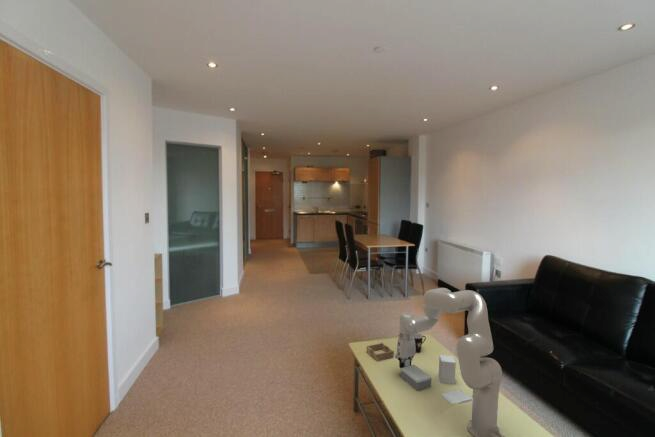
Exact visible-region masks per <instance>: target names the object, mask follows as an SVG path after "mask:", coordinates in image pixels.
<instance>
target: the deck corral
mask: <svg viewBox="0 0 655 437" xmlns="http://www.w3.org/2000/svg"><path fill="white" fill-rule="evenodd" d="M381 350H382V351H384V352H381V353H377V352H378V351H381ZM366 354H368V355H369V356H370V357H371V358H373V360H375V361H376V362H381V361H385V360H388V359H394V358H395V351H394V350H393V349H391V347H389V346H387V344H385V343H384V342H379V343H376V344H375V343H374V344H371V345H367V346H366Z"/></svg>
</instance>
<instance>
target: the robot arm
mask: <svg viewBox="0 0 655 437" xmlns="http://www.w3.org/2000/svg"><path fill="white" fill-rule="evenodd" d="M422 310H423V312H424V314H423V315H420V316H415V317H414V314H413V313H411V312H407V311H406V312H405V311H403V312H401V313H400V314H399V334H398V335H397V338H398V339H397V344H396V353H395V354H394V358H395V359H397V360H398V361H399V362H398V363H399V365H398V366H399V368H400V369H401V368H403V367H404V362H403V361H404V358H408V359H410V365H412V361H413V358H414V356H416V354H417V353H416V346H415V339H414V337H413V334H415V333H419V334H420V333H423V332H426V331H429V330H431V329H432V328H433V327H435V326H436V324H437V323H438V322H439V319H440V318H439V317H440V315H441V314H442V313H448V314H457V313H460V312H464V311H468V314H467V318H466V324H467V328H468V329H467V331H468V333H467V334H466V335H462V336H461V337H459V338H458V339H457V343H456V354H457V357H458V365H459V370H460V375H461V378H462V380H463V382H464V384H465V385H466V386H467V387H468V388H470V389H472V401H471V402H472V403H471V405H472V407H471V420H468V422H467V423H466V424H467V426H466V427H467V431H468V432H469V433H470V435H471V436H472V437H505V436H504V435H503V434H502V433H501V432H500V427H499V426H498V411H499V410H498V409H499V397H500V396H499V394H500V387H501V384H502V379H503V371H502V367H501V365H500V363H499V362H498V361H497V360H496V359H494V358H491V357H487V356H488V355H490V354H492V353H493V351H494V342H493V338H492V331H491V327H490V322H489V314H488V312H489V311H488V308H487V302H486V301H485V299H484V297H483V296H482V294H480V293H478V292H477V291H474V290H470V289H469V290H468V289H465V290H464V289H463V290H458V291H453V292H452V291H451V290H450V289H448V288H446V287H438V288H432V289H428V290H426V291H425V293H424V294H423V305H422ZM401 358H402V359H401Z"/></svg>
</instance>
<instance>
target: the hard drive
mask: <svg viewBox="0 0 655 437" xmlns="http://www.w3.org/2000/svg"><path fill="white" fill-rule="evenodd" d="M440 396H441V397H442V398H443V399H445V400H446V402H448V403H449V404H450V405H454V404H458V405H461V404H466V403H469V402H472V400H473V398H472V397H470V396H469V395H468V394H467V393H465V392H464V391H463V390H461V389H455V390H452V391H447V392H444V393H440Z"/></svg>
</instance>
